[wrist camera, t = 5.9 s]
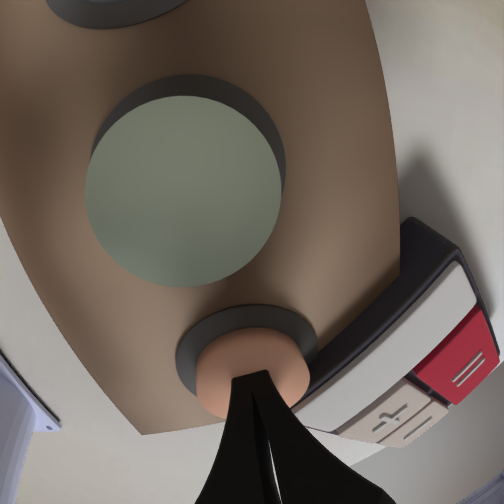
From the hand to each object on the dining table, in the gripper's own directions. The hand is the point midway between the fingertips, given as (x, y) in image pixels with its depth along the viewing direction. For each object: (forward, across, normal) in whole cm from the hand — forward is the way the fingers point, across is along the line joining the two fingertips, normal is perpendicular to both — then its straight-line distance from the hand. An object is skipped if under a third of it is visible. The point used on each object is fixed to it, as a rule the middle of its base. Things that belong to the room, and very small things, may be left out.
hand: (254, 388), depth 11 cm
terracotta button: (+1, 0, 0) cm, 1 cm away
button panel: (+3, 0, -8) cm, 9 cm away
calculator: (+4, -9, +6) cm, 11 cm away
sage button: (0, 0, -8) cm, 8 cm away
